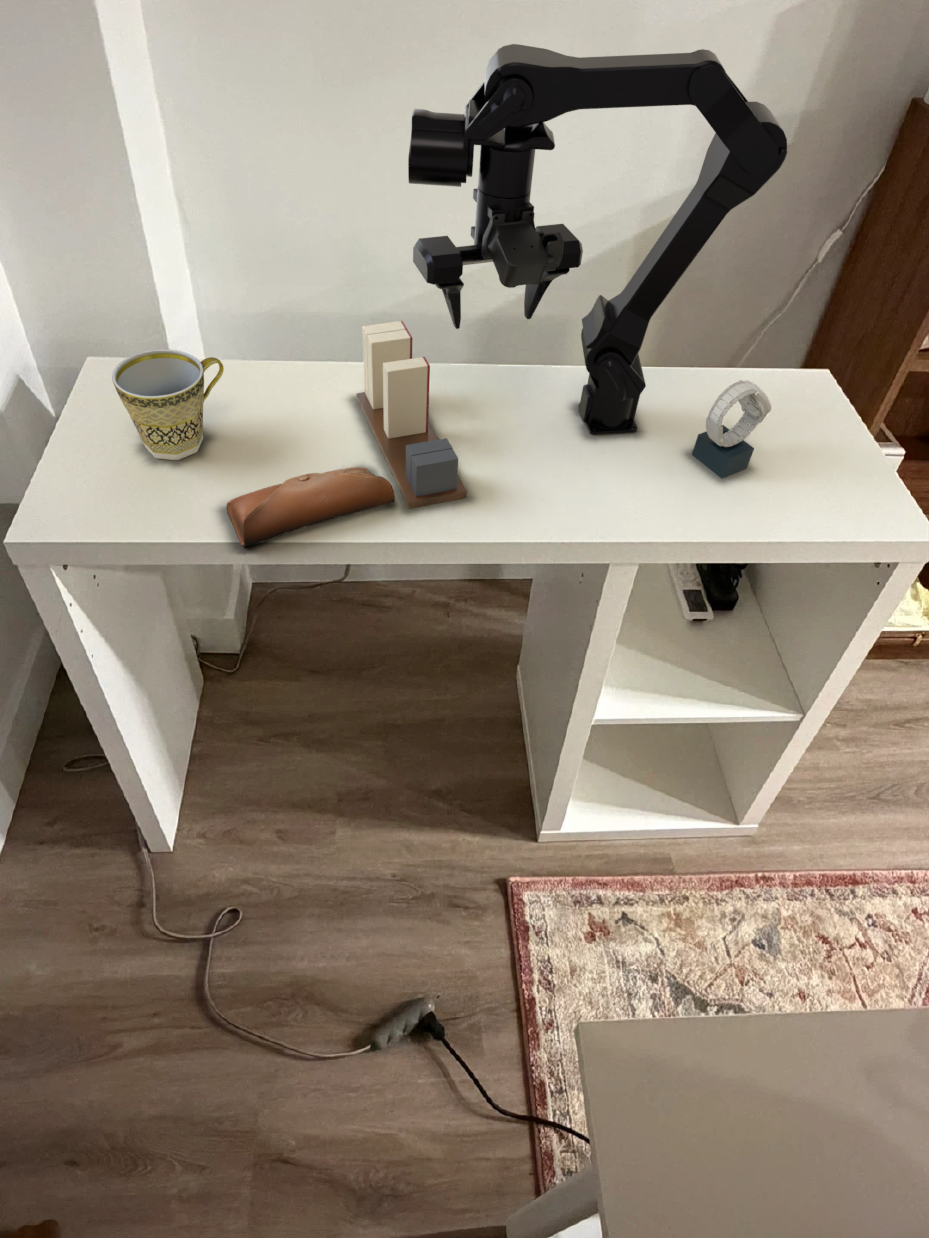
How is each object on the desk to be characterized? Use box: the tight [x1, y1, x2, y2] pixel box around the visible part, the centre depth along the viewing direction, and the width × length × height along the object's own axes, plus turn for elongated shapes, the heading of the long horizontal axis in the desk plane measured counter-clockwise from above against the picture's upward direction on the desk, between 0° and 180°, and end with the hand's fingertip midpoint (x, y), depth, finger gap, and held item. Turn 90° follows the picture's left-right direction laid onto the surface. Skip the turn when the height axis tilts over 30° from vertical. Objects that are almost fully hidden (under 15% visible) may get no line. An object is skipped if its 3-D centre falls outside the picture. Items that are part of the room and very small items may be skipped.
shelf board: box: [355, 391, 468, 509], centre depth 107 cm, size 7×23×1 cm, turn 20°
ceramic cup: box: [111, 348, 224, 461], centre depth 102 cm, size 13×10×10 cm
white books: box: [361, 320, 413, 409], centre depth 109 cm, size 5×4×10 cm
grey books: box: [406, 437, 459, 497], centre depth 100 cm, size 5×4×4 cm
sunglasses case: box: [226, 466, 396, 548], centre depth 97 cm, size 18×7×7 cm, turn 118°
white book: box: [383, 356, 431, 439], centre depth 105 cm, size 5×2×10 cm, turn 110°
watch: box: [691, 379, 772, 480], centre depth 105 cm, size 6×8×11 cm
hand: (492, 322), depth 104 cm, fingers open, 9 cm apart
